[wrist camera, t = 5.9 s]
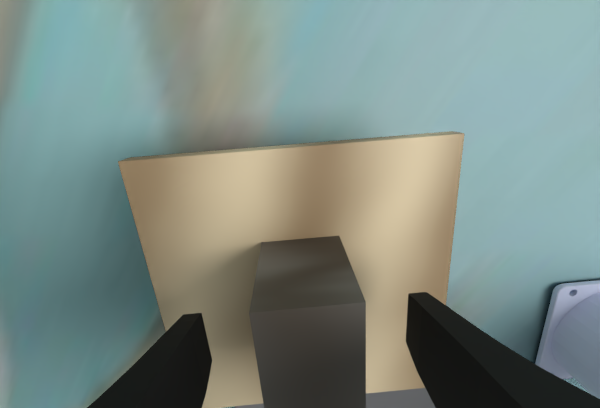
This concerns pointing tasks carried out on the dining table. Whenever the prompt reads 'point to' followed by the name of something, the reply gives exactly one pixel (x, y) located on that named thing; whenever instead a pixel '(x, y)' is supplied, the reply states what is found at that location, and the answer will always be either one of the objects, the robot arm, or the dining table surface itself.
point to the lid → (300, 259)
